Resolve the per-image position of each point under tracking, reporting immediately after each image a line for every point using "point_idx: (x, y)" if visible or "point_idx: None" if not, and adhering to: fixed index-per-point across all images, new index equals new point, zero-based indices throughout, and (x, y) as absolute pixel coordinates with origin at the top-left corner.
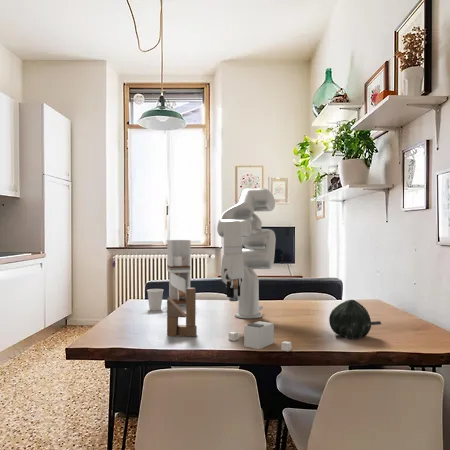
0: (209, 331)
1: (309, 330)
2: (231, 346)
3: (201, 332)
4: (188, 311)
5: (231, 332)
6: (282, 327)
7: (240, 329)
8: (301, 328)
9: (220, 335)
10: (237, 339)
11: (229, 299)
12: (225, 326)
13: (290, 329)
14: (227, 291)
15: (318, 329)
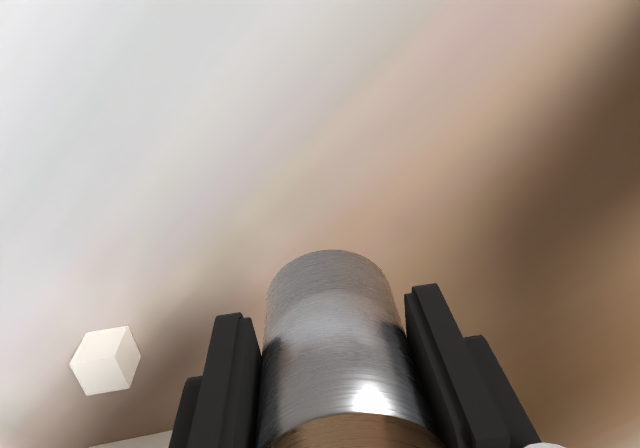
0: (97, 69)
1: (585, 426)
2: (22, 422)
3: (10, 47)
4: None
5: (93, 367)
6: (578, 316)
7: (349, 188)
8: (609, 385)
9: (104, 226)
10: (138, 356)
11: (273, 290)
12: (342, 17)
13: (553, 368)
14: (172, 438)
15: (630, 436)
